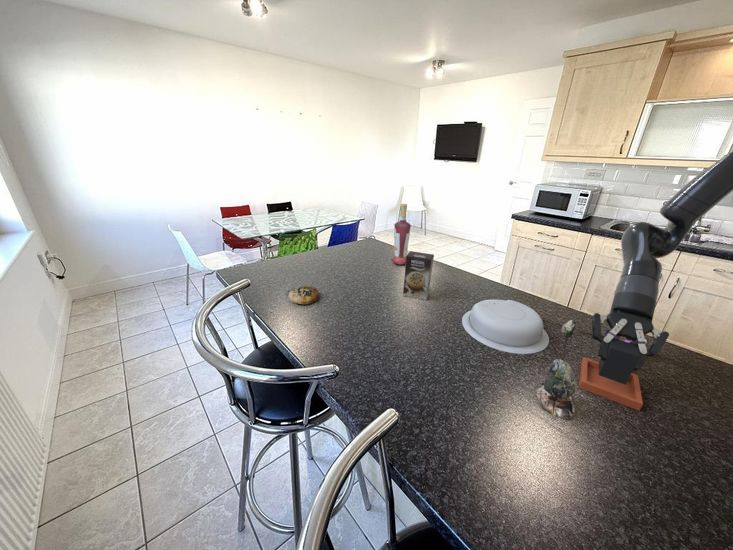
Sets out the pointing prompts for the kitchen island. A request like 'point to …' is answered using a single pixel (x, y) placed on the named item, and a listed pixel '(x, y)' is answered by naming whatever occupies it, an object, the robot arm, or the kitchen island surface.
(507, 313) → the grey round dish
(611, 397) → the base pad
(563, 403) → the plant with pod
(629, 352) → the pad block
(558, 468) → the kitchen island surface
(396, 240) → the liquor
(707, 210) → the robot arm
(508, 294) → the kitchen island surface
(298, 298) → the bread roll
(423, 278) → the dark cardboard box
